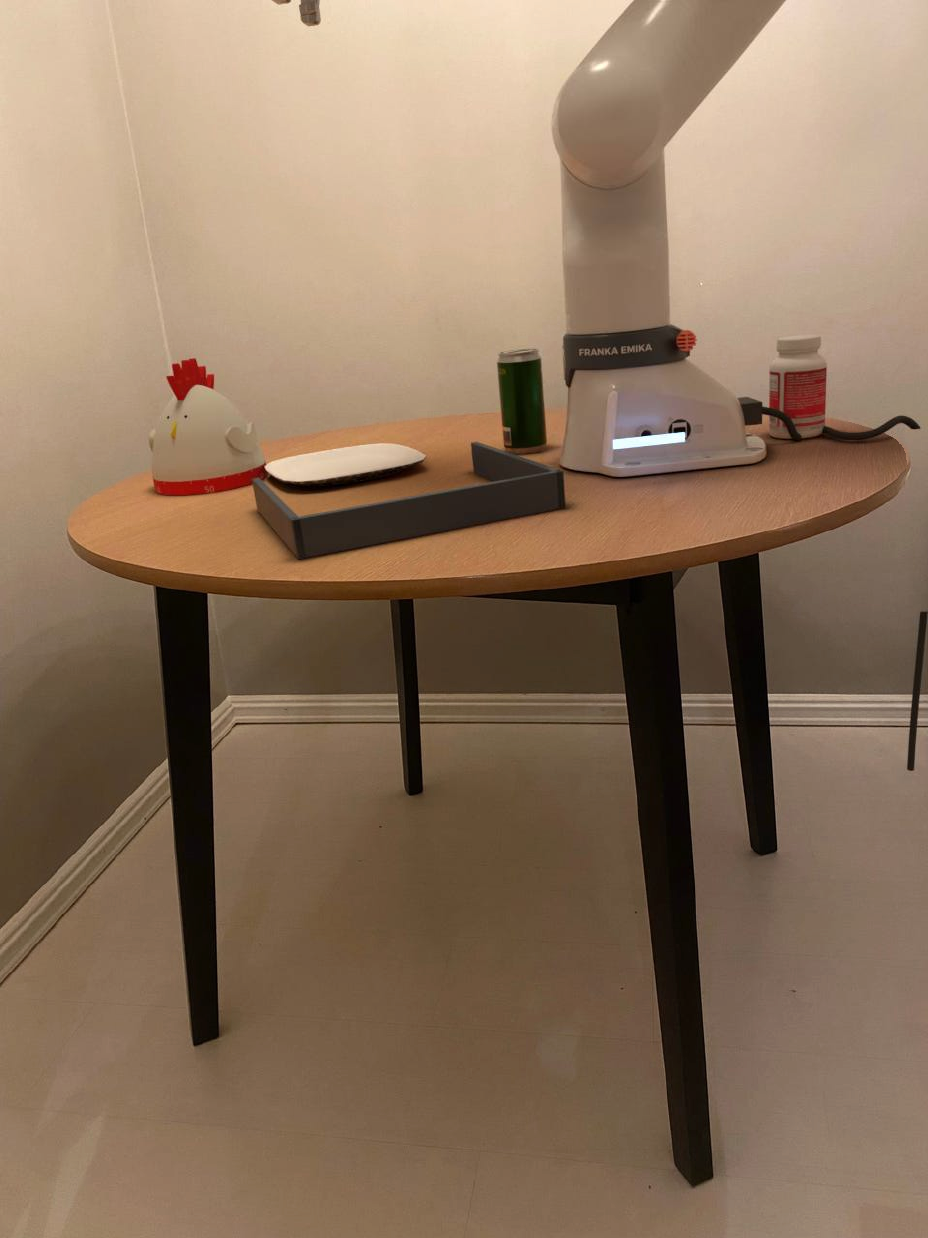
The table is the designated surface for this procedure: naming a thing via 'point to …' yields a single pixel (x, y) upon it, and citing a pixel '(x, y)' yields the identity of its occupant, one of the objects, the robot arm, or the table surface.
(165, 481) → the kitchen timer
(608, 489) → the table surface
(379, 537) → the tray
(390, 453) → the plate
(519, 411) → the beer can
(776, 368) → the pill bottle
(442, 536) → the table surface
